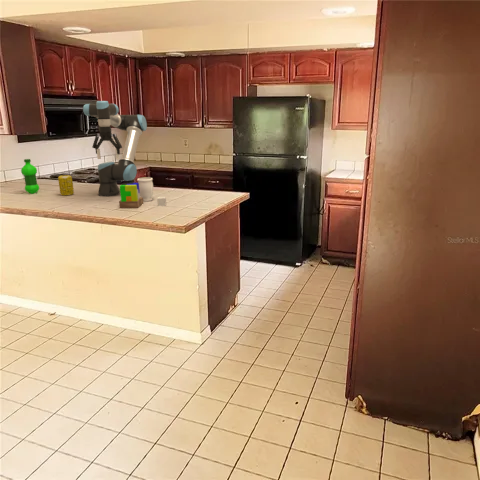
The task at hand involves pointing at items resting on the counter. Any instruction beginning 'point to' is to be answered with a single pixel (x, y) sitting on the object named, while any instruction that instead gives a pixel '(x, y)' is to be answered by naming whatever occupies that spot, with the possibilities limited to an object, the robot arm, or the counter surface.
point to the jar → (146, 188)
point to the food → (66, 185)
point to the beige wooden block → (161, 201)
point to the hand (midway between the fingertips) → (108, 159)
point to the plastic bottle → (30, 177)
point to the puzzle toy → (129, 192)
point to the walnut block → (131, 203)
